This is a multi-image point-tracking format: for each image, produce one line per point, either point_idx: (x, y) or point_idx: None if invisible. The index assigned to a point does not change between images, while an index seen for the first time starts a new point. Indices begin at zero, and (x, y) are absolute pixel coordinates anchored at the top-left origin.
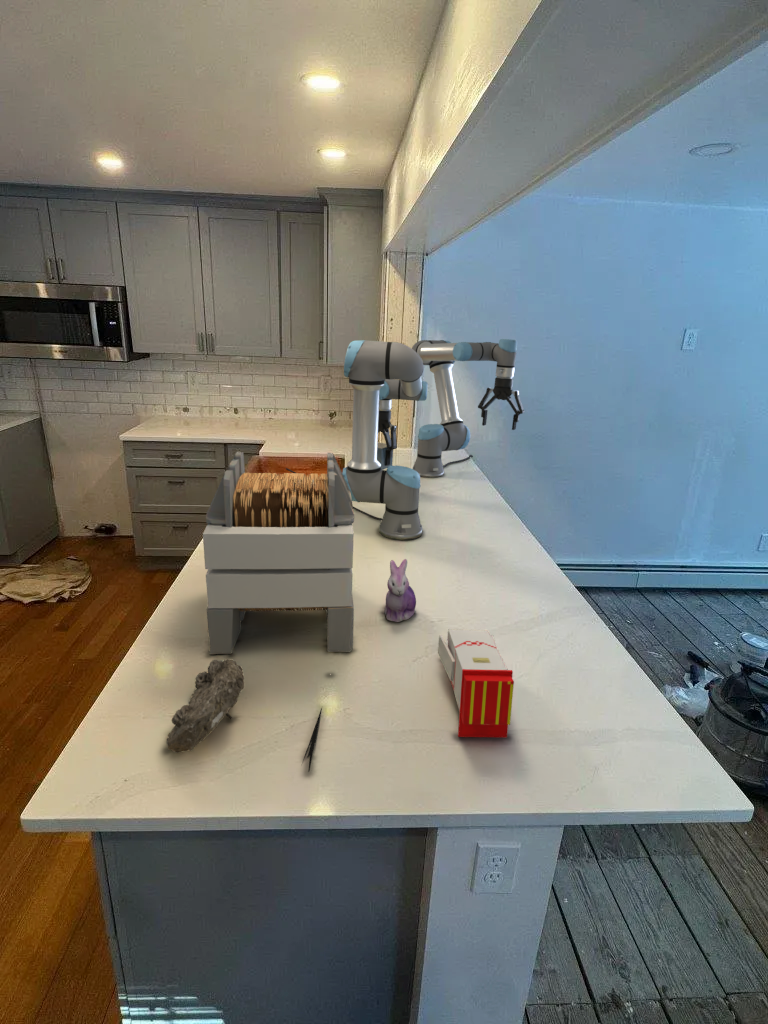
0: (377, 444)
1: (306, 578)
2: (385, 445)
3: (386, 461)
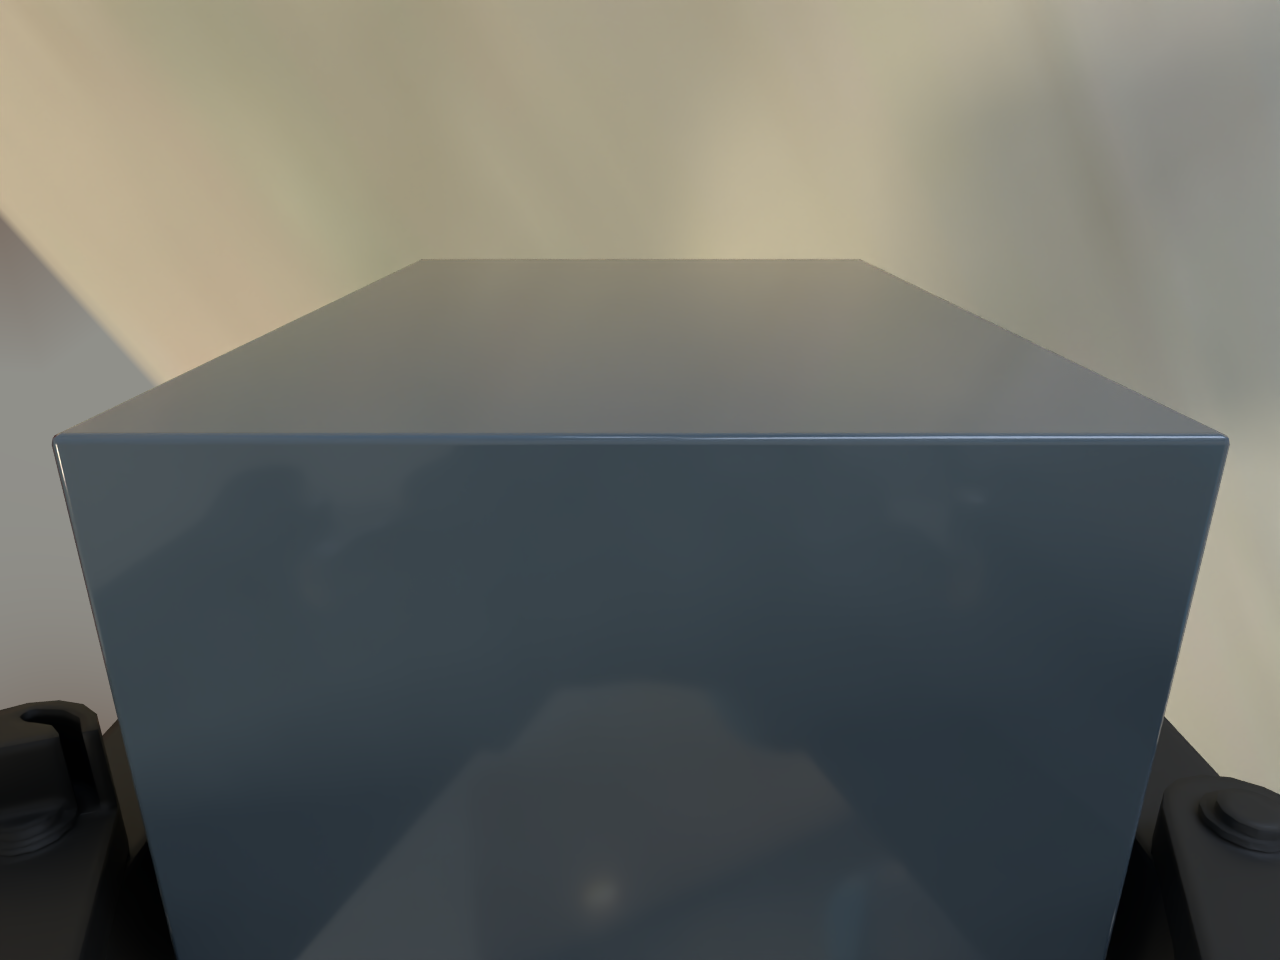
0: (371, 945)
1: None
2: (861, 875)
3: None
